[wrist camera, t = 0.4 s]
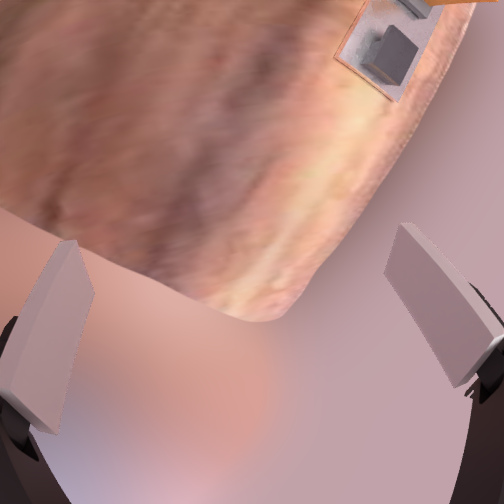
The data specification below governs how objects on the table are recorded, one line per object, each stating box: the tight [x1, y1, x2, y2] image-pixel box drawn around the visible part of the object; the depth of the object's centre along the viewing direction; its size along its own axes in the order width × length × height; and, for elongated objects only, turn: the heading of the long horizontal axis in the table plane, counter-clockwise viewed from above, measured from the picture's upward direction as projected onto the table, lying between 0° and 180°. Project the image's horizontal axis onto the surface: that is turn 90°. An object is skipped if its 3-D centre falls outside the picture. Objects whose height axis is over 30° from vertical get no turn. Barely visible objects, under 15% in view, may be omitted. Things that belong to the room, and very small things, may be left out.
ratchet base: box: [334, 0, 445, 102], centre depth 27 cm, size 28×11×4 cm, turn 153°
